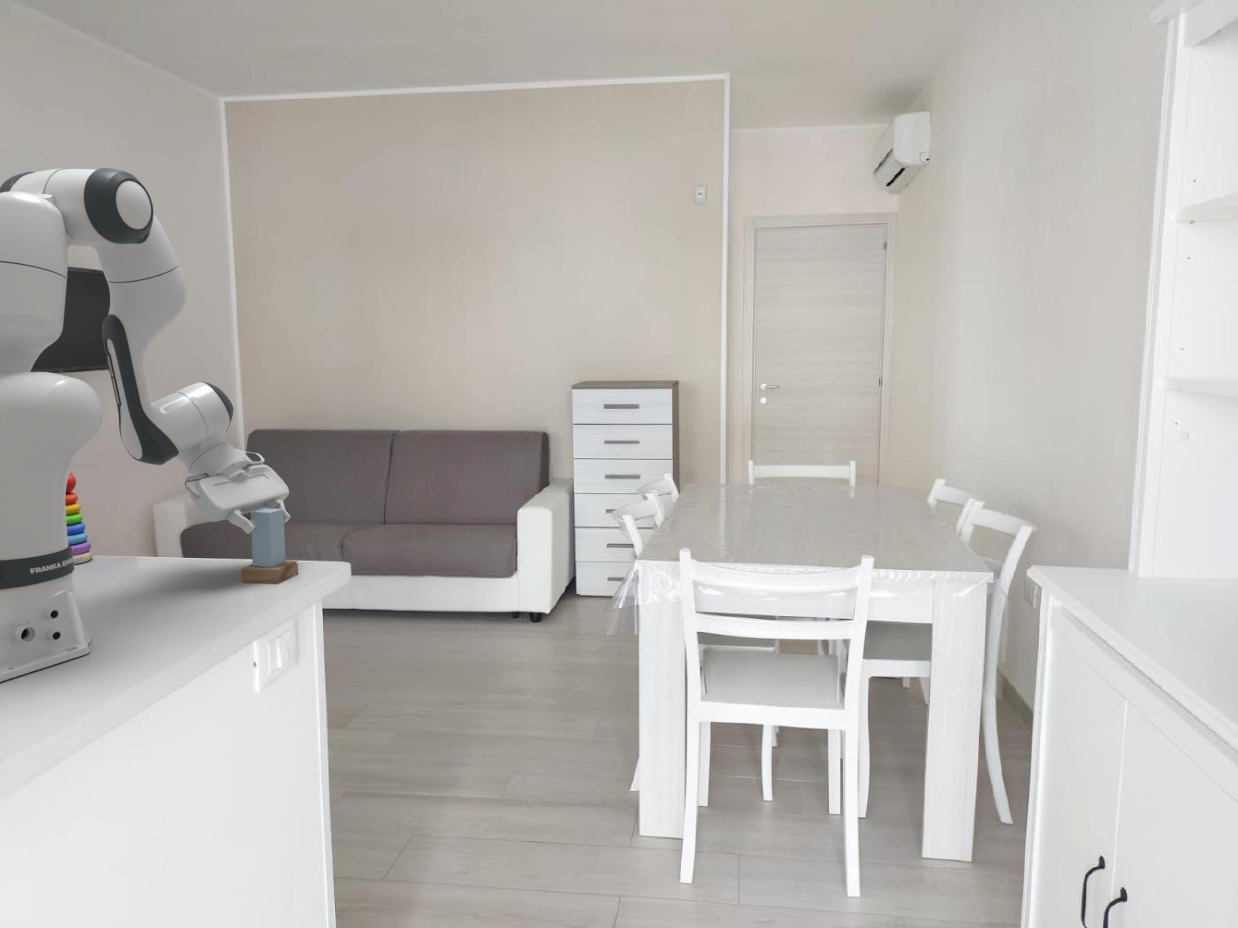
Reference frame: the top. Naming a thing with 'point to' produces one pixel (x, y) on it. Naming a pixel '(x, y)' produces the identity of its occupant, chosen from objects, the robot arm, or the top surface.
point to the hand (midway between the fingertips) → (270, 525)
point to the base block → (269, 573)
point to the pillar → (268, 537)
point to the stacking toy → (76, 525)
